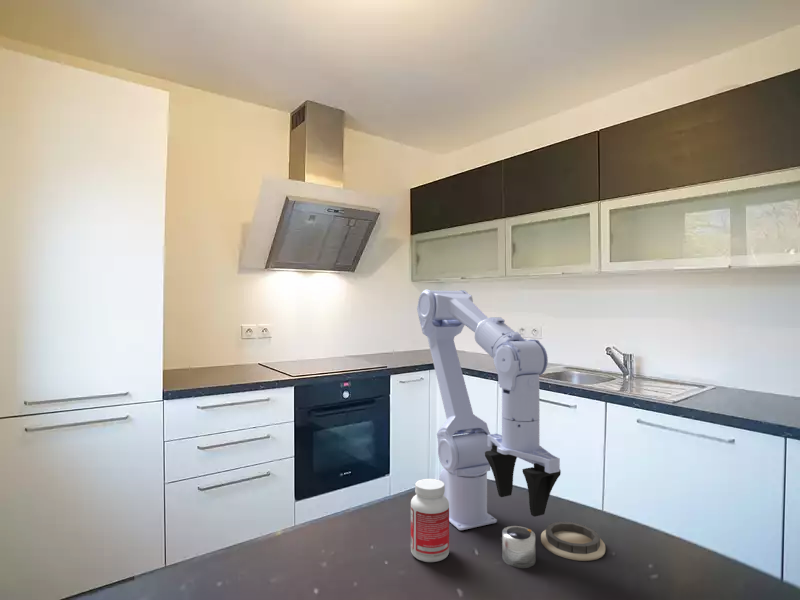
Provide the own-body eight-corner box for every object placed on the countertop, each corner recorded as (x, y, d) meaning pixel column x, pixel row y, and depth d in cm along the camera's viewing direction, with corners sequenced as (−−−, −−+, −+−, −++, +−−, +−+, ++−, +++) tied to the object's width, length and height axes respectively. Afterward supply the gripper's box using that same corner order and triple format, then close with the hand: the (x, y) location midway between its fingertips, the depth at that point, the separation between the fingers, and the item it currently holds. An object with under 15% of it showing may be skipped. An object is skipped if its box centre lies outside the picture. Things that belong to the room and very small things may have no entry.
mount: (528, 536, 79) (528, 525, 79) (572, 525, 83) (572, 515, 83) (571, 566, 70) (571, 554, 70) (619, 552, 74) (619, 541, 74)
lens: (495, 554, 73) (495, 528, 73) (521, 548, 75) (521, 522, 75) (515, 571, 69) (515, 543, 69) (542, 563, 71) (542, 536, 71)
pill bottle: (457, 556, 73) (457, 485, 73) (426, 568, 69) (426, 494, 69) (433, 539, 78) (433, 473, 78) (403, 550, 74) (403, 481, 75)
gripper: (472, 410, 77) (472, 492, 77) (532, 431, 64) (533, 530, 64) (506, 406, 80) (506, 485, 80) (570, 425, 67) (570, 519, 67)
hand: (520, 504), depth 72 cm, fingers open, 7 cm apart
